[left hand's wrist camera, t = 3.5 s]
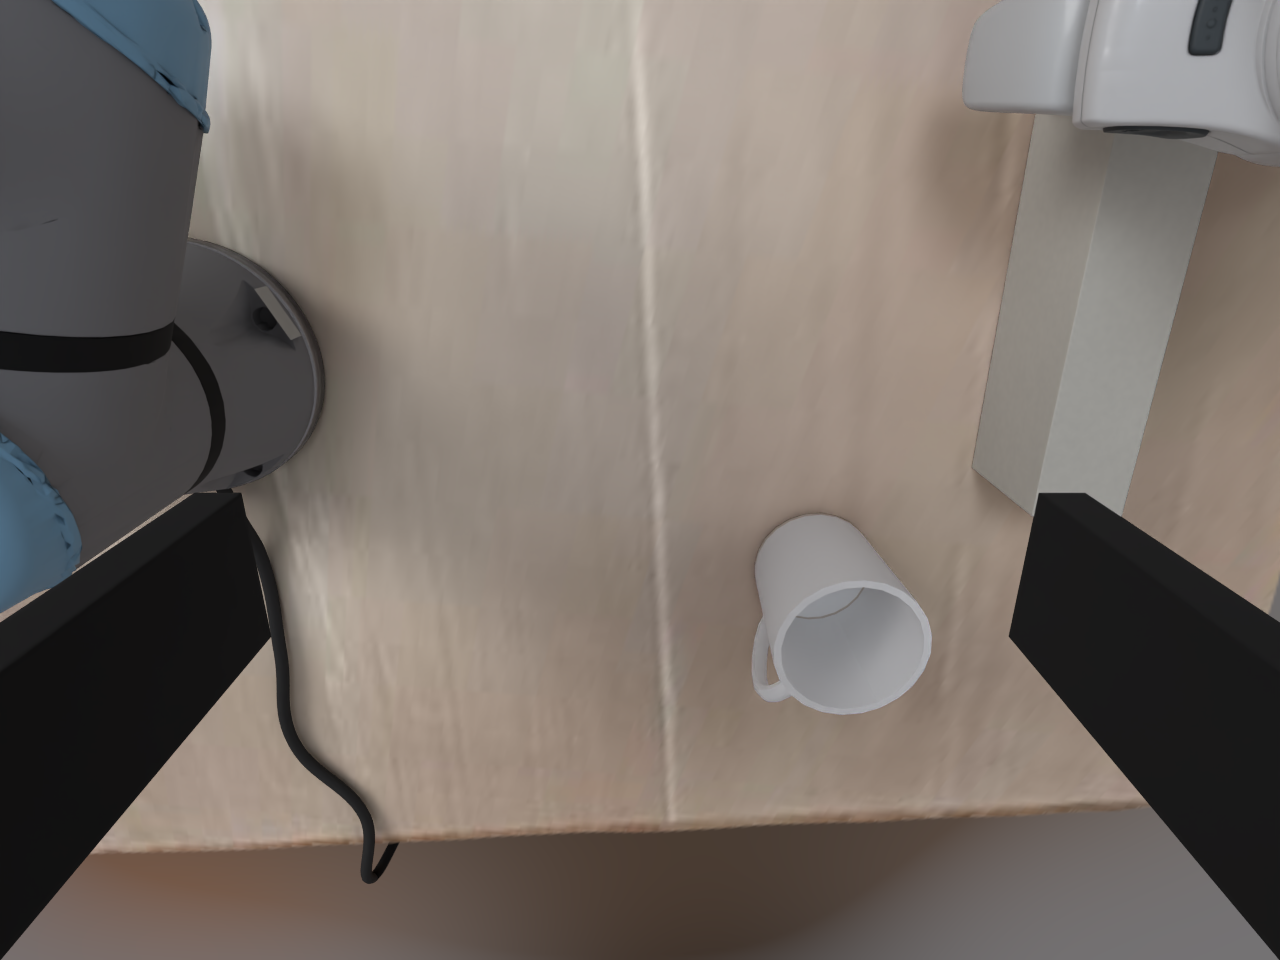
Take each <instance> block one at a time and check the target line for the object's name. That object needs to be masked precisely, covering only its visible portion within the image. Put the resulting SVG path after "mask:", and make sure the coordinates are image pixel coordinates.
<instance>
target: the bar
mask: <svg viewBox="0 0 1280 960" xmlns="http://www.w3.org/2000/svg"><path fill="white" fill-rule="evenodd" d="M1217 154H1218V151H1214V150H1210V149H1207V148H1204V147H1201V146H1198V145H1195V144H1192V143H1188V142H1185V141H1182V140H1178V139H1164V138H1158V137H1151V136H1144V135H1132V134H1118V133H1104V132H1103V130H1081V129H1078V128H1076V127H1075V126H1074V125H1073V123H1072V116H1061V115H1046V114H1035V120H1034V125H1033V131H1032V136H1031V142H1030V147H1029V153H1028V158H1027V164H1026V169H1025V175H1024V181H1023V186H1022V192H1021V197H1020V203H1019V208H1018V214H1017V219H1016V225H1015V231H1014V236H1013V242H1012V247H1011V253H1010V258H1009V264H1008V269H1007V275H1006V280H1005V286H1004V292H1003V297H1002V303H1001V308H1000V314H999V319H998V325H997V330H996V336H995V342H994V347H993V353H992V358H991V364H990V369H989V375H988V380H987V386H986V391H985V397H984V403H983V408H982V414H981V419H980V425H979V430H978V436H977V441H976V447H975V452H974V458H973V464H972V468H973V469H974V470H975V471H977V472H978V473H979V474H980V475H981V476H983V477H984V478H985V479H986V480H988V481H989V482H990V483H991V484H993V485H994V486H995V487H996V488H997V489H999V490H1000V491H1001V492H1002V493H1004V494H1005V495H1006V496H1007V497H1009V498H1010V499H1011V500H1012V501H1014V502H1015V503H1016V504H1017V505H1018V506H1020V507H1021V508H1022V509H1023V510H1025V511H1026V512H1027V513H1028V514H1030V515H1031V516H1034V513H1035V508H1036V503H1037V499H1038V494H1039V493H1086V494H1088V495H1089V496H1091V497H1092V498H1094V499H1095V500H1097V501H1098V502H1100V503H1101V504H1103V505H1104V506H1106V507H1107V508H1109V509H1110V510H1112V511H1113V512H1115V513H1116V514H1118V515H1119V516H1122V513H1123V509H1124V505H1125V502H1126V498H1127V494H1128V490H1129V487H1130V483H1131V479H1132V475H1133V471H1134V468H1135V464H1136V460H1137V456H1138V453H1139V449H1140V445H1141V441H1142V437H1143V434H1144V430H1145V426H1146V422H1147V419H1148V415H1149V411H1150V407H1151V404H1152V400H1153V396H1154V392H1155V388H1156V385H1157V381H1158V377H1159V373H1160V370H1161V366H1162V362H1163V358H1164V354H1165V351H1166V347H1167V343H1168V339H1169V336H1170V332H1171V328H1172V324H1173V321H1174V317H1175V313H1176V309H1177V305H1178V302H1179V298H1180V294H1181V290H1182V287H1183V283H1184V279H1185V275H1186V271H1187V268H1188V264H1189V260H1190V256H1191V253H1192V249H1193V245H1194V241H1195V237H1196V234H1197V230H1198V226H1199V222H1200V219H1201V215H1202V211H1203V207H1204V204H1205V200H1206V196H1207V192H1208V188H1209V185H1210V181H1211V177H1212V173H1213V170H1214V166H1215V162H1216V158H1217Z"/></svg>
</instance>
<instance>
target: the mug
mask: <svg viewBox="0 0 1280 960" xmlns="http://www.w3.org/2000/svg"><path fill="white" fill-rule="evenodd" d="M754 565H755V580H756V584H757V589H758V594H759V598H760V603H761V608H762V612H763V616H762V619H761V621H760V623H759V625H758V628H757V631H756V635H755V639H754V646H753V653H752V679H753V685H754V689H755V691H756V692H757V693H758V694H759V695H760V696H761V697H762V698H763V700H765V701H767V702H780V701H782V700H784V699H787V698H789V697H790V696H793V697H794V698H796V699H797V700H798V701H800V702H801V703H802V704H804V705H805V706H808V707H810V708H813V709H815V710H818V711H821V712H825V713H832V714H839V715H845V714H859V713H864V712H867V711H871V710H874V709H878V708H881V707H883V706H885V705H886V704H888V703H890V702H892V701H894V700H896V699H898V698H899V697H900V696H901V695H903V694H904V693H905V692H906V691H907V690H908V689H910V688H911V687H912V686H913V685H914V684H915V682H916V681H917V679H918V678H919V677H920V675H921V674H922V672H923V671H924V669H925V667H926V664H927V662H928V659H929V656H930V654H931V642H932V634H931V630H930V626H929V622H928V618H927V617H926V615H925V614H924V612H923V610H922V609H921V607H920V606H919V604H918V603H917V601H916V600H915V599H914V597H913V596H912V595H911V594H910V592H909V591H908V590H907V589H906V587H905V586H904V585H903V584H902V583H901V581H900V580H899V579H898V578H897V576H896V575H895V574H894V573H893V571H892V570H891V569H890V568H889V566H888V565H887V564H886V563H885V562H884V560H883V559H882V558H881V557H880V555H879V554H878V553H877V552H876V550H875V549H874V548H873V547H872V545H871V544H870V543H869V542H868V541H867V539H866V538H865V537H864V536H863V534H862V533H861V532H860V531H859V530H858V529H857V528H856V527H855V526H854V525H852V524H851V523H850V522H849V521H846V520H844V519H842V518H840V517H838V516H835V515H829V514H823V513H815V514H804V515H801V516H798V517H795V518H792V519H789V520H787V521H786V522H784V523H783V524H781V525H779V526H778V527H776V528H775V529H774V530H773V531H772V532H771V533H770V534H769V535H768V536H767V537H766V538H765V540H764V541H763V543H762V545H761V547H760V548H759V550H758V553H757V557H756V560H755V564H754ZM769 645H770V649H771V654H772V659H773V663H774V666H775V669H776V671H777V674H778V677H779V681H778V682H776V683H774V684H772V685H769V684H768V680H767V655H768V648H769Z"/></svg>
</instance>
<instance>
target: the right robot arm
mask: <svg viewBox="0 0 1280 960" xmlns="http://www.w3.org/2000/svg"><path fill="white" fill-rule="evenodd" d="M962 97H963V102H964V104H965V106H966V107H968V108H969V109H972V110H976V111H984V112H1000V113H1024V114H1046V115H1061V116H1072V123H1073V125H1074V126H1075V127H1076V128H1078V129H1081V130H1103V132H1104V133H1118V134H1132V135H1144V136H1151V137H1158V138H1164V139H1178V140H1182V141H1185V142H1188V143H1192V144H1195V145H1198V146H1201V147H1204V148H1207V149H1210V150H1214V151H1218V152H1222V153H1227V154H1233V155H1236V156H1238V157H1240V158H1241V159H1243V160H1246V161H1249V162H1252V163H1255V164H1260V165H1264V166H1274V167H1280V0H1002V1H1000V2H999V3H997V4H996V5H994V6H993V7H991V8H990V9H988V10H987V11H985V12H984V13H983V14H982V15H981V16H980V17H979V18H978V19H977V21H976V22H975V24H974V26H973V29H972V32H971V35H970V40H969V45H968V49H967V55H966V61H965V68H964V76H963V88H962Z"/></svg>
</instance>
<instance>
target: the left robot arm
mask: <svg viewBox="0 0 1280 960" xmlns="http://www.w3.org/2000/svg"><path fill="white" fill-rule="evenodd" d="M210 56H211V32H210V27H209V23H208V20H207V17H206V15H205V13H204V11H203V9H202V7H201V6H200V4H199V3H198V1H197V0H0V613H2V612H4V611H5V610H7V609H9V608H11V607H12V606H14V605H16V604H18V603H19V602H21V601H23V600H25V599H26V598H28V597H30V596H32V595H33V594H35V593H38V592H41V591H43V590H46V589H50V588H51V589H50V590H48V591H47V592H45V593H44V594H42V595H41V596H39V597H38V598H36V599H35V600H33V601H32V602H30V603H29V604H27V605H26V606H24V607H23V608H21V609H20V610H18V611H17V612H15V613H14V614H12V615H11V616H9V617H8V618H6V619H5V620H3V621H2V622H0V960H1V959H2V958H3V956H4V955H5V954H6V953H7V952H8V951H9V949H10V948H11V947H12V946H13V945H14V943H15V942H16V941H17V940H18V939H19V937H20V936H21V935H22V934H23V933H24V931H25V930H26V929H27V928H28V927H29V925H30V924H31V923H32V922H33V921H34V919H35V918H36V917H37V916H38V915H39V913H40V912H41V911H42V910H43V909H44V907H45V906H46V905H47V904H48V903H49V901H50V900H51V899H52V898H53V897H54V895H55V894H56V893H57V892H58V891H59V889H60V888H61V887H62V886H63V885H64V884H65V882H66V881H67V880H68V879H69V878H70V876H71V875H72V874H73V873H74V872H75V870H76V869H77V868H78V867H79V866H80V864H81V863H82V862H83V861H84V860H85V858H86V857H87V856H88V855H89V854H90V852H91V851H92V850H93V849H94V848H95V847H96V845H97V844H98V843H99V842H100V841H101V839H102V838H103V837H104V836H105V835H106V833H107V832H108V831H109V830H110V829H111V827H112V826H113V825H114V824H115V823H116V821H117V820H118V819H119V818H120V817H121V815H122V814H123V813H124V812H125V811H126V809H127V808H128V807H129V806H130V805H131V803H132V802H133V801H134V800H135V799H136V798H137V796H138V795H139V794H140V793H141V792H142V790H143V789H144V788H145V787H146V786H147V784H148V783H149V782H150V781H151V780H152V778H153V777H154V776H155V775H156V774H157V772H158V771H159V770H160V769H161V768H162V766H163V765H164V764H165V763H166V762H167V760H168V759H169V758H170V757H171V756H172V754H173V753H174V752H175V751H176V750H177V748H178V747H179V746H180V745H181V744H182V743H183V741H184V740H185V739H186V738H187V737H188V735H189V734H190V733H191V732H192V731H193V729H194V728H195V727H196V726H197V725H198V723H199V722H200V721H201V720H202V719H203V717H204V716H205V715H206V714H207V713H208V711H209V710H210V709H211V708H212V707H213V705H214V704H215V703H216V702H217V701H218V699H219V698H220V697H221V696H222V695H223V694H224V692H225V691H226V690H227V689H228V688H229V686H230V685H231V684H232V683H233V682H234V680H235V679H236V678H237V677H238V676H239V674H240V673H241V672H242V671H243V670H244V668H245V667H246V666H247V665H248V664H249V662H250V661H251V660H252V659H253V658H254V656H255V655H256V654H257V653H258V652H259V650H260V649H261V648H262V647H263V646H264V644H265V643H266V642H267V641H268V640H269V639H270V637H271V639H272V645H273V651H274V657H275V664H276V678H277V709H278V717H279V722H280V725H281V729H282V732H283V734H284V737H285V739H286V741H287V743H288V745H289V747H290V749H291V750H292V752H293V754H294V755H295V756H296V758H297V759H298V760H299V761H300V762H301V764H302V765H303V766H304V767H305V768H306V769H307V770H309V771H310V772H311V773H312V774H313V775H314V776H316V777H317V778H318V779H319V780H321V781H322V782H323V783H325V784H326V785H327V786H329V787H330V788H331V789H332V790H334V791H335V792H336V793H337V794H339V795H340V796H341V797H342V798H343V799H344V800H345V801H347V803H348V804H349V805H350V806H351V807H352V808H353V809H354V811H355V812H356V813H357V815H358V817H359V819H360V821H361V824H362V828H363V836H364V843H363V854H362V862H361V877H362V880H363V881H364V882H365V883H367V884H371V883H374V882H376V881H377V880H378V879H379V878H380V877H381V875H382V874H383V873H384V871H385V870H386V868H387V866H388V864H389V862H390V860H391V858H392V857H393V855H394V853H395V851H396V849H397V846H398V845H399V843H400V842H389V843H388V845H387V847H386V849H385V851H384V853H383V855H382V857H381V859H380V860H379V862H378V864H377V865H376V867H375V869H374V870H373V871H372V862H373V855H374V846H375V830H374V824H373V820H372V817H371V815H370V813H369V811H368V809H367V807H366V806H365V804H364V803H363V801H362V800H361V799H360V797H359V796H358V795H357V794H356V793H355V792H354V791H353V790H352V789H351V788H350V787H348V786H347V785H346V784H345V783H344V782H342V781H341V780H340V779H339V778H337V777H336V776H335V775H333V774H332V773H331V772H329V771H328V770H327V769H326V768H324V767H323V766H322V765H321V764H320V763H319V762H317V761H316V760H315V759H314V758H313V757H312V756H311V755H310V754H309V753H308V751H307V750H306V749H305V747H304V746H303V744H302V743H301V741H300V739H299V738H298V735H297V733H296V731H295V728H294V725H293V721H292V717H291V711H290V684H289V663H288V655H287V649H286V643H285V636H284V629H283V622H282V615H281V609H280V602H279V597H278V591H277V587H276V582H275V578H274V574H273V571H272V567H271V564H270V561H269V558H268V555H267V552H266V550H265V547H264V545H263V543H262V541H261V540H260V538H259V536H258V535H257V533H256V531H255V530H254V528H253V527H252V525H251V524H250V522H249V520H248V519H247V517H246V513H245V508H244V503H243V499H242V494H241V493H233V491H232V489H231V488H233V487H237V486H241V485H244V484H247V483H250V482H253V481H255V480H258V479H260V478H262V477H264V476H266V475H268V474H270V473H271V472H273V471H274V470H276V469H277V468H279V467H280V466H281V465H283V464H284V463H285V462H287V461H288V460H289V459H290V458H291V457H293V456H294V455H295V454H296V453H297V452H298V451H299V450H300V449H301V448H302V447H303V446H304V444H305V443H306V442H307V440H308V439H309V437H310V436H311V434H312V432H313V430H314V429H315V426H316V424H317V422H318V419H319V416H320V413H321V410H322V405H323V400H324V389H325V379H324V368H323V361H322V357H321V353H320V349H319V346H318V343H317V340H316V337H315V335H314V333H313V331H312V328H311V326H310V324H309V323H308V321H307V319H306V317H305V315H304V314H303V312H302V311H301V309H300V308H299V306H298V305H297V303H296V302H295V301H294V299H293V298H292V297H291V296H290V294H289V293H288V292H287V291H286V290H285V289H284V288H283V287H282V286H281V285H280V284H279V283H278V282H277V281H276V280H275V279H274V278H273V277H272V276H271V275H270V274H268V273H267V272H266V271H264V270H263V269H262V268H261V267H259V266H258V265H256V264H255V263H253V262H252V261H250V260H249V259H247V258H245V257H244V256H242V255H240V254H238V253H236V252H234V251H232V250H229V249H227V248H225V247H222V246H220V245H216V244H213V243H210V242H207V241H202V240H198V239H192V238H188V232H189V226H190V219H191V212H192V205H193V199H194V192H195V185H196V178H197V171H198V165H199V158H200V151H201V144H202V138H203V133H209V128H210V118H209V116H208V114H207V112H206V111H205V108H206V97H207V87H208V77H209V67H210ZM214 490H216V491H217V493H199V492H207V491H214ZM192 493H194V494H192ZM184 494H192V495H191V496H189V497H188V498H186V499H185V500H183V501H182V502H180V503H179V504H177V505H176V506H174V507H173V508H171V509H170V510H168V511H167V512H165V513H164V514H162V515H161V516H159V517H158V518H156V519H155V520H153V521H152V522H150V523H149V524H147V525H146V526H144V527H143V528H141V529H140V530H138V531H137V532H135V533H134V534H132V535H131V536H129V537H128V538H126V539H125V540H123V541H122V542H120V543H119V544H117V545H116V546H114V547H113V548H111V549H110V550H108V551H107V552H105V553H104V554H102V555H101V556H99V557H98V558H96V559H95V560H93V561H92V562H90V563H89V564H87V565H86V566H84V567H83V568H81V569H80V570H78V571H77V572H75V573H74V574H72V572H73V571H75V570H76V569H77V568H79V567H80V566H81V565H83V564H84V563H86V562H87V561H89V560H90V559H92V558H93V557H94V556H96V555H97V554H99V553H100V552H102V551H103V550H105V549H106V548H107V547H109V546H110V545H112V544H113V543H115V542H116V541H117V540H119V539H120V538H122V537H123V536H125V535H126V534H128V533H129V532H130V531H132V530H133V529H135V528H136V527H138V526H139V525H140V524H142V523H143V522H145V521H146V520H148V519H149V518H151V517H152V516H153V515H155V514H156V513H158V512H159V511H161V510H162V509H164V508H165V507H167V506H168V505H169V504H171V503H172V502H174V501H175V500H177V499H178V498H180V497H181V496H183V495H184ZM256 565H257V566H256ZM257 568H258V571H259V575H260V578H261V582H262V586H263V591H264V595H265V601H266V606H267V612H268V618H267V614H266V609H265V604H264V599H263V594H262V590H261V585H260V580H259V575H258V571H257ZM268 619H269V623H268ZM269 626H270V628H269ZM270 632H271V633H270ZM1009 637H1010V639H1011V640H1012V641H1013V642H1014V643H1015V644H1016V646H1017V647H1018V648H1019V649H1020V650H1021V652H1022V653H1023V654H1024V655H1025V656H1026V658H1027V659H1028V660H1029V661H1030V662H1031V664H1032V665H1033V666H1034V667H1035V668H1036V670H1037V671H1038V672H1039V673H1040V674H1041V676H1042V677H1043V678H1044V679H1045V680H1046V682H1047V683H1048V684H1049V685H1050V686H1051V688H1052V689H1053V690H1054V691H1055V692H1056V694H1057V695H1058V696H1059V697H1060V698H1061V699H1062V701H1063V702H1064V703H1065V704H1066V705H1067V707H1068V708H1069V709H1070V710H1071V711H1072V713H1073V714H1074V715H1075V716H1076V717H1077V719H1078V720H1079V721H1080V722H1081V723H1082V725H1083V726H1084V727H1085V728H1086V729H1087V731H1088V732H1089V733H1090V734H1091V735H1092V737H1093V738H1094V739H1095V740H1096V741H1097V743H1098V744H1099V745H1100V746H1101V747H1102V748H1103V750H1104V751H1105V752H1106V753H1107V754H1108V756H1109V757H1110V758H1111V759H1112V760H1113V762H1114V763H1115V764H1116V765H1117V766H1118V768H1119V769H1120V770H1121V771H1122V772H1123V774H1124V775H1125V776H1126V777H1127V778H1128V780H1129V781H1130V782H1131V783H1132V784H1133V786H1134V787H1135V788H1136V789H1137V790H1138V792H1139V793H1140V794H1141V795H1142V796H1143V798H1144V799H1145V800H1146V801H1147V802H1148V803H1149V805H1150V806H1151V807H1152V808H1153V809H1154V811H1155V812H1156V813H1157V814H1158V815H1159V817H1160V818H1161V819H1162V820H1163V821H1164V823H1165V824H1166V825H1167V826H1168V827H1169V829H1170V830H1171V831H1172V832H1173V833H1174V835H1175V836H1176V837H1177V838H1178V839H1179V841H1180V842H1181V843H1182V844H1183V845H1184V847H1185V848H1186V849H1187V850H1188V851H1189V852H1190V854H1191V855H1192V856H1193V857H1194V858H1195V860H1196V861H1197V862H1198V863H1199V864H1200V866H1201V867H1202V868H1203V869H1204V870H1205V872H1206V873H1207V874H1208V875H1209V876H1210V878H1211V879H1212V880H1213V881H1214V882H1215V884H1216V885H1217V886H1218V887H1219V888H1220V890H1221V891H1222V892H1223V893H1224V894H1225V895H1226V897H1227V898H1228V899H1229V900H1230V901H1231V903H1232V904H1233V905H1234V906H1235V907H1236V909H1237V910H1238V911H1239V912H1240V913H1241V915H1242V916H1243V917H1244V918H1245V919H1246V921H1247V922H1248V923H1249V924H1250V925H1251V927H1252V928H1253V929H1254V930H1255V931H1256V933H1257V934H1258V935H1259V936H1260V937H1261V939H1262V940H1263V941H1264V942H1265V943H1266V945H1267V946H1268V947H1269V948H1270V949H1271V950H1272V952H1273V953H1274V954H1275V955H1276V956H1277V958H1278V959H1279V960H1280V622H1278V621H1277V620H1275V619H1274V618H1272V617H1271V616H1269V615H1268V614H1266V613H1265V612H1263V611H1262V610H1260V609H1259V608H1257V607H1256V606H1254V605H1253V604H1251V603H1250V602H1248V601H1247V600H1245V599H1244V598H1242V597H1241V596H1239V595H1238V594H1236V593H1235V592H1233V591H1232V590H1230V589H1229V588H1227V587H1226V586H1224V585H1223V584H1221V583H1220V582H1218V581H1217V580H1215V579H1214V578H1212V577H1211V576H1209V575H1208V574H1206V573H1205V572H1203V571H1202V570H1200V569H1199V568H1197V567H1196V566H1194V565H1193V564H1191V563H1190V562H1188V561H1187V560H1185V559H1184V558H1182V557H1181V556H1179V555H1178V554H1176V553H1175V552H1173V551H1172V550H1170V549H1169V548H1167V547H1166V546H1164V545H1163V544H1161V543H1160V542H1158V541H1157V540H1155V539H1154V538H1152V537H1151V536H1149V535H1148V534H1146V533H1145V532H1143V531H1142V530H1140V529H1139V528H1137V527H1136V526H1134V525H1133V524H1131V523H1130V522H1128V521H1127V520H1125V519H1124V518H1122V517H1121V516H1119V515H1118V514H1116V513H1115V512H1113V511H1112V510H1110V509H1109V508H1107V507H1106V506H1104V505H1103V504H1101V503H1100V502H1098V501H1097V500H1095V499H1094V498H1092V497H1091V496H1089V495H1088V494H1086V493H1039V494H1038V499H1037V503H1036V508H1035V513H1034V518H1033V523H1032V527H1031V532H1030V537H1029V542H1028V547H1027V551H1026V556H1025V561H1024V566H1023V571H1022V575H1021V580H1020V585H1019V590H1018V594H1017V599H1016V604H1015V609H1014V614H1013V618H1012V623H1011V628H1010V633H1009Z"/></svg>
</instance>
